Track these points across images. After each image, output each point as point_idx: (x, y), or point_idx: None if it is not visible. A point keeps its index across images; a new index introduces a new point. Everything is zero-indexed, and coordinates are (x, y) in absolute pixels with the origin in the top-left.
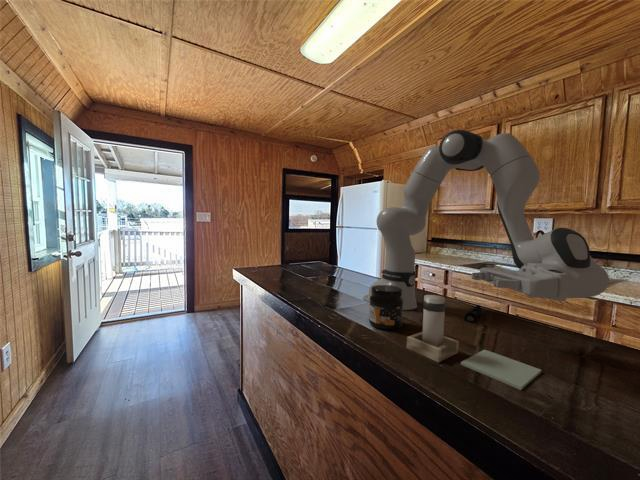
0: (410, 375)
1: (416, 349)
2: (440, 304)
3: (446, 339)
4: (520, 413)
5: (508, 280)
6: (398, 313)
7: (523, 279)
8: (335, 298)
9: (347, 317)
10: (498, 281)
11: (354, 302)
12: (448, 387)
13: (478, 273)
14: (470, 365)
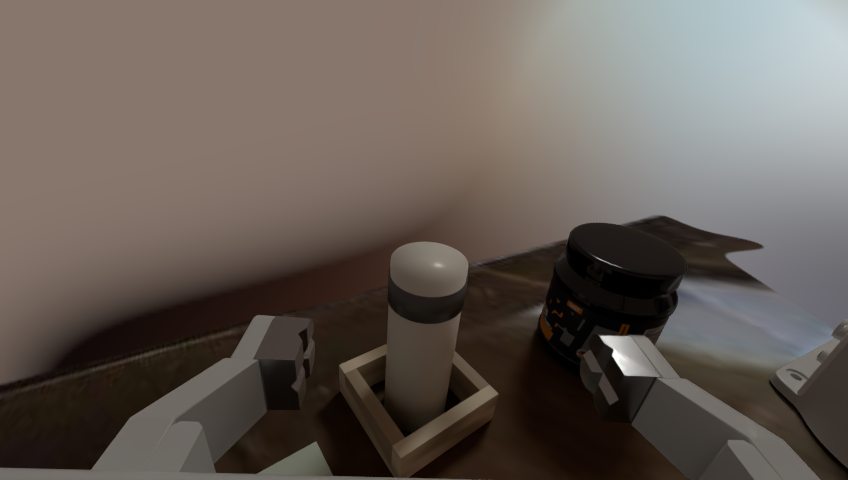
0: None
1: None
2: (388, 276)
3: (425, 427)
4: (53, 465)
5: (203, 374)
6: (570, 324)
7: (12, 469)
8: (757, 283)
9: None
10: (257, 320)
11: (764, 316)
12: None
13: (619, 356)
14: (288, 460)
